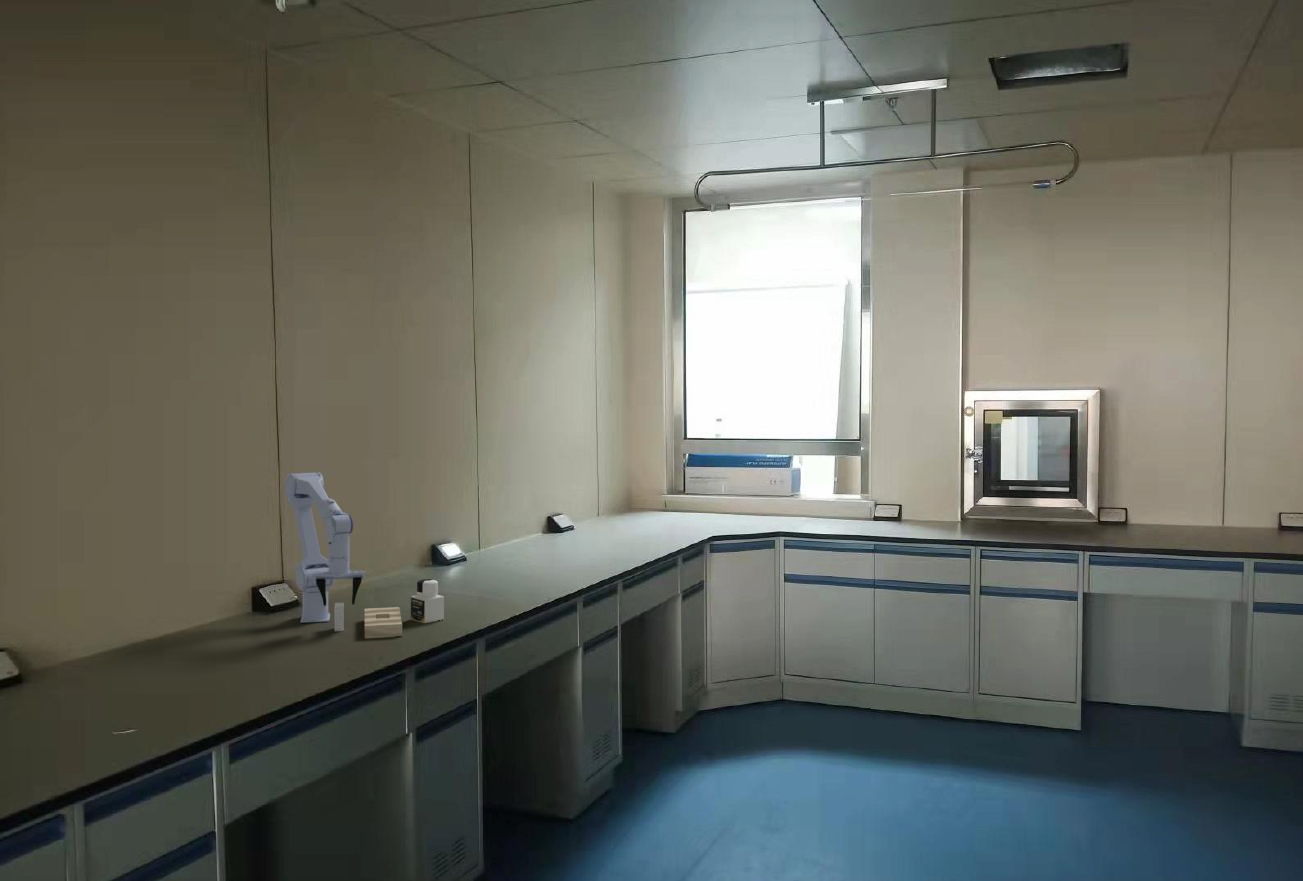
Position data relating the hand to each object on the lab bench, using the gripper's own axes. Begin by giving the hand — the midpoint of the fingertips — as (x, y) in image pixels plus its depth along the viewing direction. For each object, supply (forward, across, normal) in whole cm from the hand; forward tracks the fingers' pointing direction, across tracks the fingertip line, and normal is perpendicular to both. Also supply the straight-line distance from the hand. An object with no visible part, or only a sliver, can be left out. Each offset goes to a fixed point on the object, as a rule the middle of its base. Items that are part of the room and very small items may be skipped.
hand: (339, 604), depth 286 cm
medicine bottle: (+8, +25, +7) cm, 27 cm away
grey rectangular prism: (+7, 0, 0) cm, 7 cm away
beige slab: (+7, +12, -1) cm, 14 cm away
